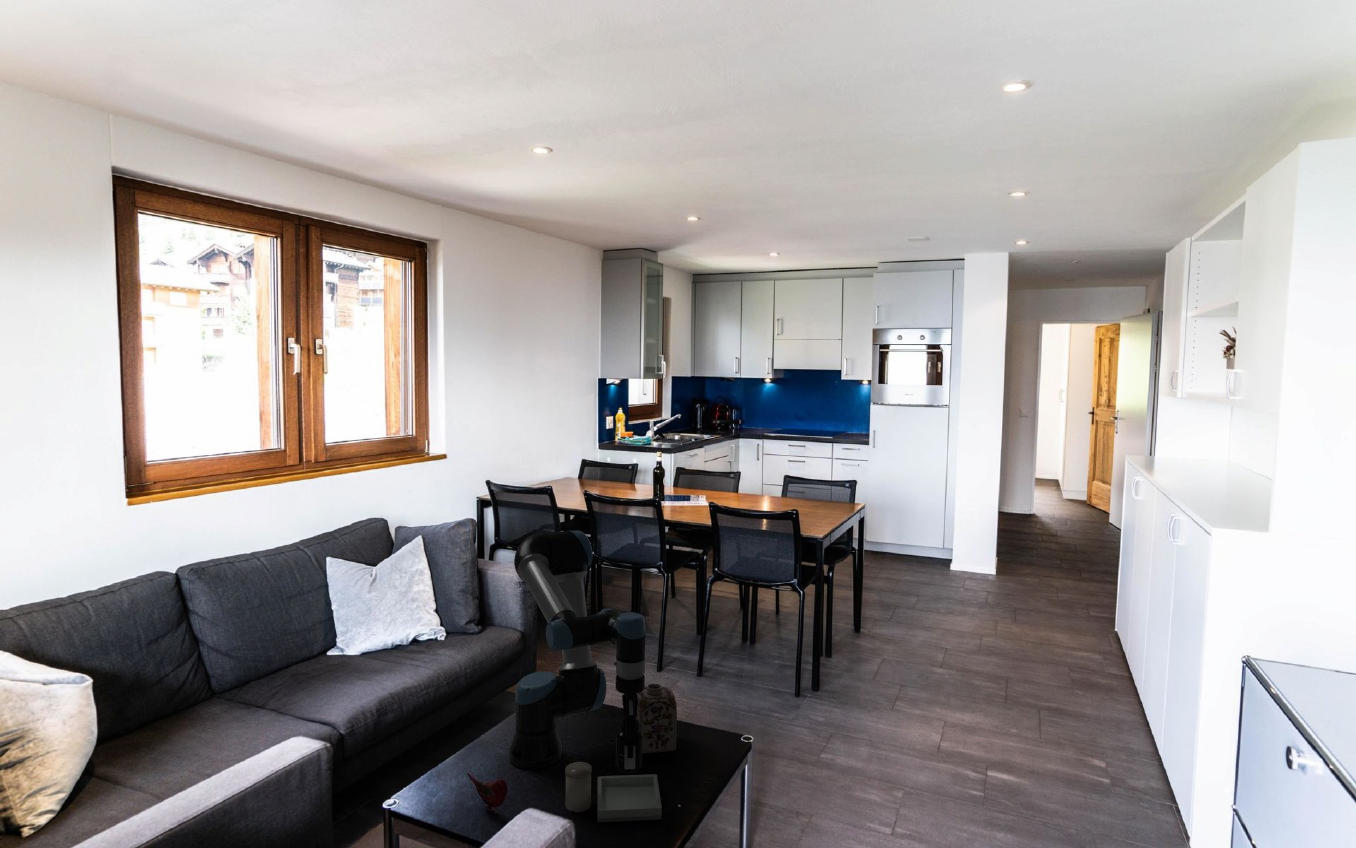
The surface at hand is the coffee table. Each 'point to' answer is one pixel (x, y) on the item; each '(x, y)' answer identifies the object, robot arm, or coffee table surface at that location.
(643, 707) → the decorative jar
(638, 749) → the supplement bottle
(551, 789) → the coffee table surface
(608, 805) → the sage tray
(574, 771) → the cream canister
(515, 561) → the robot arm
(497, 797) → the decorative bird figurine
